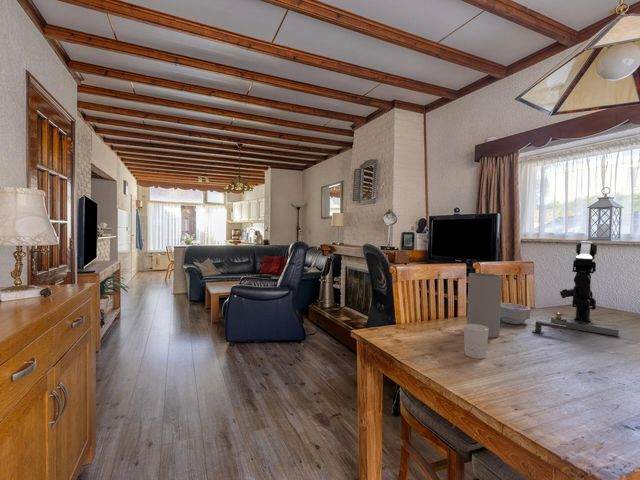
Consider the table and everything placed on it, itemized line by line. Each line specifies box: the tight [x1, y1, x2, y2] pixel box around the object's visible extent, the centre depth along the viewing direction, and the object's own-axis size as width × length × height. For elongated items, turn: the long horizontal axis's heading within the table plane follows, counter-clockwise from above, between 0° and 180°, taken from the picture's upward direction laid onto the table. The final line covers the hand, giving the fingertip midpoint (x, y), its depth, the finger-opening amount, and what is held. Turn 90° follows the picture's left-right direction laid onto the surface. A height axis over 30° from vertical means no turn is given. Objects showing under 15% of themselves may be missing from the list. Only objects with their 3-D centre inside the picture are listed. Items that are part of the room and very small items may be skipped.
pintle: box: [554, 311, 564, 319], centre depth 157 cm, size 7×7×6 cm
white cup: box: [463, 323, 489, 360], centre depth 118 cm, size 8×8×10 cm
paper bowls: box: [500, 302, 531, 325], centre depth 163 cm, size 15×15×8 cm
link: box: [550, 316, 620, 337], centre depth 151 cm, size 24×6×3 cm, turn 50°
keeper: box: [531, 320, 567, 335], centre depth 144 cm, size 4×12×5 cm, turn 50°
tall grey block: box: [466, 272, 503, 339], centre depth 143 cm, size 12×12×25 cm
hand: (581, 317), depth 157 cm, fingers closed
